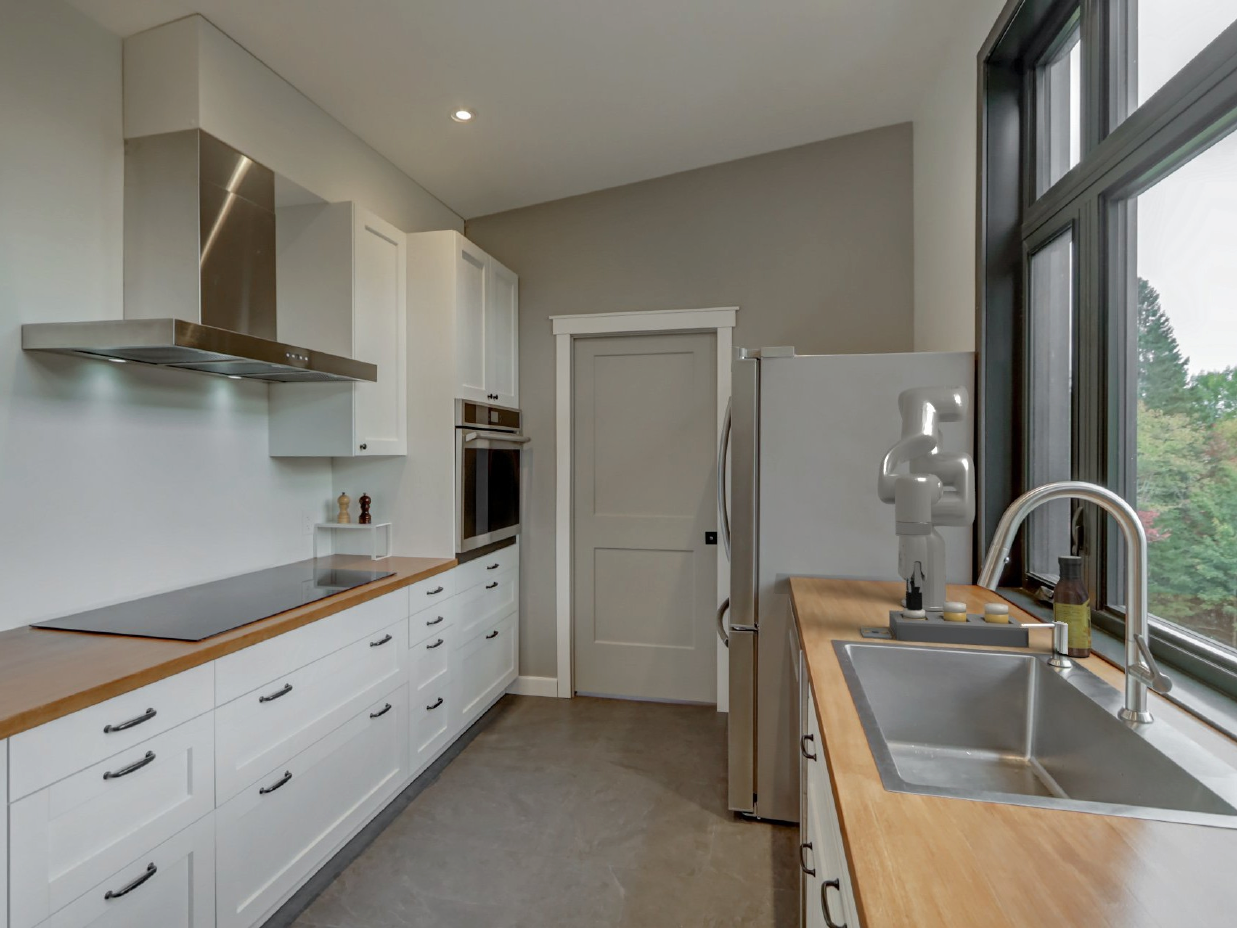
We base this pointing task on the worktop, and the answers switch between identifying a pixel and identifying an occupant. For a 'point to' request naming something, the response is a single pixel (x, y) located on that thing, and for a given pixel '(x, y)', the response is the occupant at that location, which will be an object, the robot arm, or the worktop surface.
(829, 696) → the worktop surface
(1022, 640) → the button board
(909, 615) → the button
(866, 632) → the card
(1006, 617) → the button
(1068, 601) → the sauce bottle
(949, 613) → the button middle
